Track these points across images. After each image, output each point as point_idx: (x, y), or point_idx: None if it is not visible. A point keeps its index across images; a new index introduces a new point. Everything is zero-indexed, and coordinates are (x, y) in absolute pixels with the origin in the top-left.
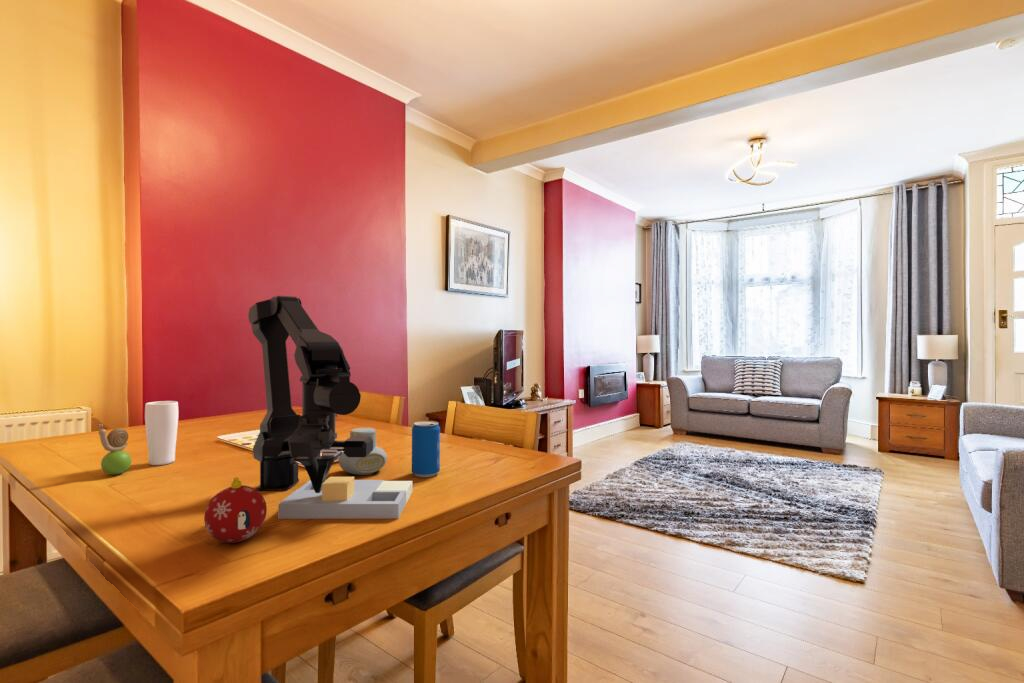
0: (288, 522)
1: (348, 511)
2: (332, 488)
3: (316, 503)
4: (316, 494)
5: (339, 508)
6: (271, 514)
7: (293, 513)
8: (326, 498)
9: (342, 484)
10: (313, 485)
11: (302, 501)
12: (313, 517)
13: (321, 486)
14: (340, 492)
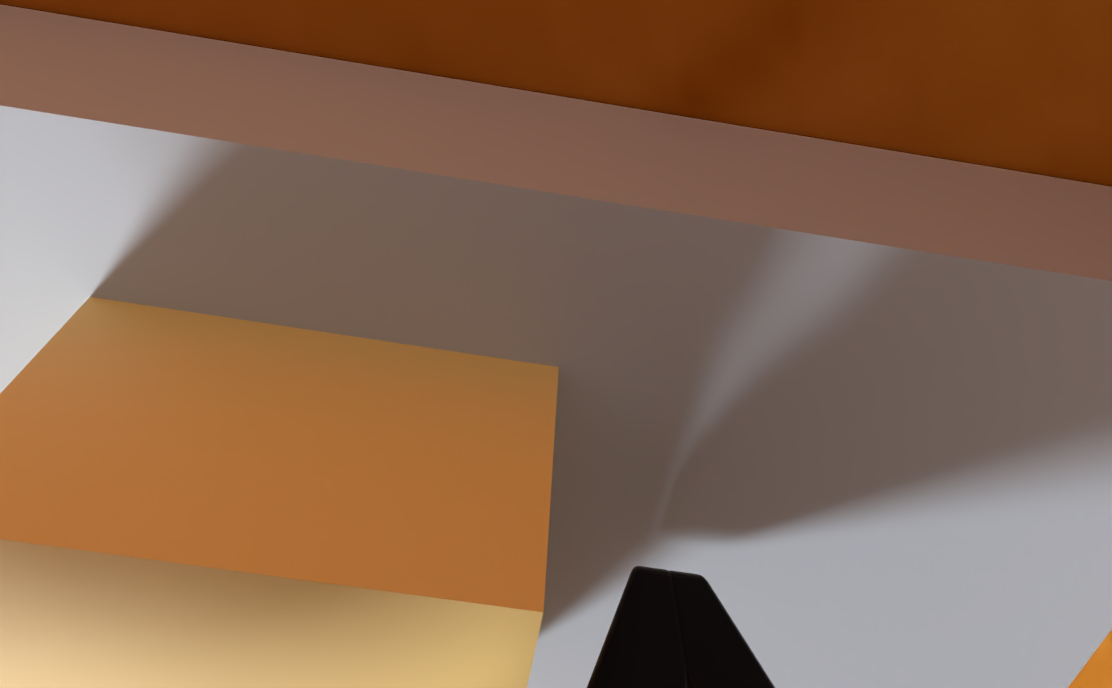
0: (1049, 12)
1: (50, 56)
2: (305, 494)
3: (631, 230)
4: None
5: (193, 97)
6: None
7: (998, 198)
8: (471, 376)
9: (11, 527)
10: (755, 681)
11: (901, 369)
12: (667, 119)
13: (597, 663)
14: (156, 412)
